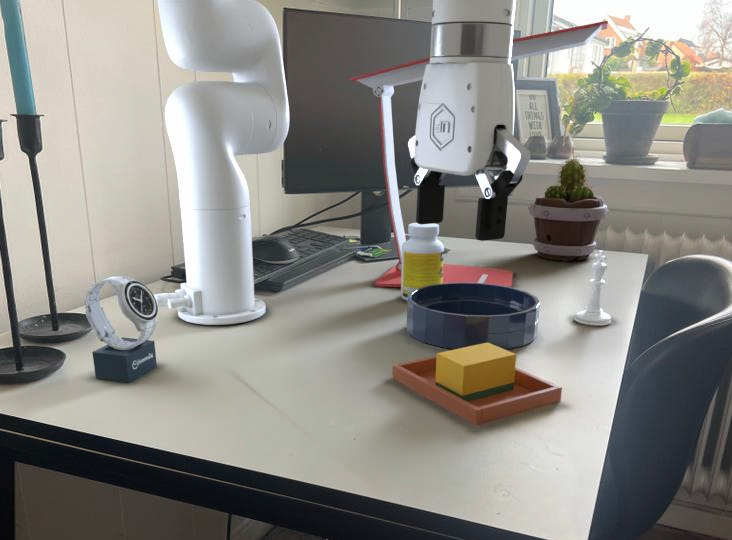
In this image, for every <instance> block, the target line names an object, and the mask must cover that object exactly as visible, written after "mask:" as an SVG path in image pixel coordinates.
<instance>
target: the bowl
mask: <svg viewBox="0 0 732 540" xmlns="http://www.w3.org/2000/svg"><path fill="white" fill-rule="evenodd" d="M406 302H407V303H406V304H407V305H406V307H407V308H406V332H407V333H408V334H409V335H410V336H411V337H412V338H413V339H416V340H418V341H420V342H423V343H425V344H427V345H432V346H437V347H440V348H444V349H451V350H455V349H459V348H464V347H469V346H473V345H478V344H483V343H490V344H493V345H495V346H498V347H500V348H502V349H505V350H510V349H515V348H519V347H524V346H526V345H528V344H530V343H532V342H534V341H535V339H536V337H537V335H538V329H539V328H538V327H539V317H540V307H541V302H540V300H539V299H538V297H537V296H536V295H535V294H532V293H530V292H528V291H525V290H523V289H519V288H517V287H512V286H511V287H507V286H501V285H495V284H484V283H462V282H458V283H441V284H434V285H428V286H424V287H420V288H417V289H414V290H413V291H411V292H410V293H409V294H408V301H406Z"/></svg>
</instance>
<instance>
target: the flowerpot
mask: <svg viewBox="0 0 732 540" xmlns="http://www.w3.org/2000/svg"><path fill="white" fill-rule="evenodd" d="M578 156H580V154H578V155H576V156H575V152H573V156H572V158H571V157H570V156H568V157H566V158H565V159H566V160H565V161H563V162H562V164H563V165H559V168H558V169H557V170H558V171H557V172H556V173H557V175H558V177H557V181H552V182H553V183H554V185H549V186H548V187H546V191H545V192H544V194H539V195H538V196H537V197H535V200H534V201H532V202H530V203H529V206H528V207H527V210H528V211H529V215H530V216H531V217H533V222H534V229H535V235H536V237H535V238H534V239H533V242H532V246H533V248H534V250H535V251H537V255H538V256H539V257H541V258H543V259H547V260H552V261H561V260H562V261H565V262H569V261H572V260H574V259H576V261H584V260H587V259H589V257H590V256H591V254H593V253H594V251H596V250H597V242H596V241H595V239H596V236H597V233H598V230H599V227H600V224H601V220H604V219H606V218H607V217H608V214H610V210H609V209H608V206H607V204H605V203H604V199H603V197H601V196H596V195H594V192H593V191H594V189H592V188H593V186H592V185H591V186H589V185H588V184H587V182H589V180H588V178H587V176H588V174H589V173H588V172H589V170H588V168H584V167H586V164H585V162H581V161H580V160H581V158H580V157H579V158H578V159H577V157H578ZM560 168H561V169H560Z"/></svg>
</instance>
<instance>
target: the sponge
mask: <svg viewBox="0 0 732 540" xmlns="http://www.w3.org/2000/svg"><path fill="white" fill-rule="evenodd" d="M436 356H437V358H436V380H435V381H436V382H435V385H437V386H439V387H441V388H442V389H444V390H446V391H448V392H450V393H452V394H454V395H456V396H457V397H459V398H461V399H463V400H465V401H471V400H475V399H479V398H483V397H486V396H490V395H494V394H498V393H502V392H506V391H509V390H513V388H514V376H515V367H516V365H517V364H516V362H517V354H516V353H514V352H512V351H509V350H508V349H506V350H505V349H502V348H500V347H498V346H495V345H493V344H490V343H483V344H478V345H473V346H469V347H464V348H459V349H451V350H446V351H439V352H436Z"/></svg>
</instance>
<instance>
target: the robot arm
mask: <svg viewBox="0 0 732 540" xmlns="http://www.w3.org/2000/svg"><path fill="white" fill-rule="evenodd" d="M516 2H517V0H432V11H431V13H432V16H431V18H432V19H431V33H430V36H431V37H430V51H429V52H430V53H429V58H430V57H431V58H430V64H427V65H426V69H425V72H424V76H423V80H421V86H420V92H419V93H420V94H419V97H418V99H419V100H418V106H417V113H416V123H415V133H414V135H413V136H412V137H411V138H409V139H408V142H407V146H408V151H409V156H410V158H411V160H410V165H411V168H412V170H413V173H414V177H413V182H414V183H415V185H416V186H417V193H416V214H415V223H418V224H432V223H434V224H440V223H442V222H443V220H444V211H445V210H444V209H445V195H446V194H445V193H446V188H445V187H446V185H445V184H441V182H442V181H443V179H444V178H445V176H446V175H447V174H448V175H449V174H450V175H455V176H463V177H464V176H468V177H469V176H472V175H475V178H476V180H477V183H478V185H479V188H480V189H481V192H482V194H483V197H478V201H477V210H476V212H477V213H476V223H475V234H474V235H475V239H476V240H477V241H480V242H484V241H485V242H486V241H492V240H493V241H494V240H501V239H503V238H504V237H505V234H506V233H505V232H506V222H507V214H508V213H507V212H508V204H509V203H508V201H509V198H512V197H513V196H514V194H515V189H516V188H517V187H518V186H519V185H520V183H521V182H522V180H523V176H524V175H523V174H524V173H525V171H526V170H527V167H528V165H529V163H530V161H531V157H532V154H531V151H530V150H529V149H528V148H527V147H526V146H525V145H523V143H522V142H520V140H518V138H516V137H515V136H514V130H515V81H514V78H515V77H514V66H513V63H511V61H510V60H511V59H510V58H511V48H512V39H513V38H514V37H513V36H514V23H515V13H516V4H517V3H516ZM156 3H157V9H158V15H159V20H160V26H161V32H162V37H163V42H164V45H165V46H164V47H165V49H166V52H167V54H168V57H169V59H170V60H171V62H173V64H174V65H175V66H177V67H179V68H180V69H184V70H187V71H192V72H193V71H194V72H204V73H229V74H231V75H232V78H233V81H225V80H223V81H222V80H221V81H219V80H198V81H197V80H196V81H191V82H187V83H184V84H182V85H180V86H178V87H177V88H175V89H174V90H173V91H172V92H171V94H170V95H169V96H168V98H167V100H166V104H165V107H164V108H165V110H164V119H165V127H166V132H167V136H168V138H169V142H170V147H171V150H172V154H173V158H174V163H175V170H176V175H177V177H176V178H177V185H178V196H179V206H180V217H181V227H182V229H181V230H182V241H183V242H182V243H183V254H184V265H185V278H186V282H181V283H180V288H178V289H175V291H174V292H162V293H155V294H154V293H153V295H154V297H155V299H156V301H157V304H158V309H159V308H165V307H168V309H170V310H172V309H177V315H178V318H179V319H181V320H183V321H184V322H187V323H191V324H195V325H205V326H225V325H226V326H227V325H237V324H241V323H247V322H250V321H254V320H256V319H259V318H260V317H262V316H264V315H265V314H266V309H267V308H266V303H265V302H264V301H263V300H261V299H259V298H257V297H255V282H254V281H255V280H254V278H255V277H254V260H253V259H254V258H253V256H254V255H253V238H252V237H253V236H252V217H251V202H250V200H251V199H250V198H251V197H250V189H249V185H248V181H247V179H246V177H245V175H244V173H243V171H242V169H241V168H240V166H239V164H238V163H237V160H236V158H235V156H244V155H245V156H247V155H248V156H249V155H261V154H267V153H272V152H275V151H276V150H277V149H279V148H281V146H282V145H283V144H284V143H285V141H286V139H287V136H288V133H289V129H290V105H289V97H288V90H287V82H286V81H287V80H286V75H285V74H286V73H285V67H284V60H283V51H282V44H281V37H280V33H279V30H278V27H277V23H276V22H275V19H274V17H273V16H272V14H271V13H270V11H269V10H268V9H267V7H266V6H264V5H263V4H262V3H260V2H259V1H257V0H156ZM492 177H493V178H494V180H492Z"/></svg>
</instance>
